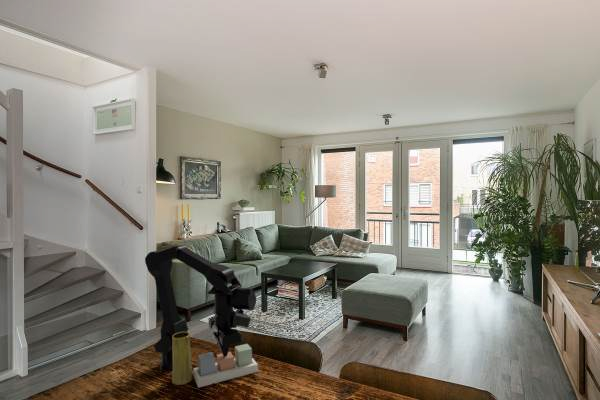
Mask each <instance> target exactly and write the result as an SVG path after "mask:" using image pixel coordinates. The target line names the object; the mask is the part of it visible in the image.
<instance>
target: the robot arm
mask: <svg viewBox="0 0 600 400" xmlns="http://www.w3.org/2000/svg"><path fill="white" fill-rule="evenodd" d="M173 260H178V261H180V262H181V263H183V264H185V265H186V266H188V267H190V268H191V269H193V270H194V271H196V272H197V273H200V274H201V275H202V276H204V278H205V280H206V281H207V282H208V284H210V285H211V286H212V288H211V289H210V290H209V291H208V292H207V294H208V295H214V297H213V298H214V309H213V312H212V313H213V315H214V316H213V317H210V319H209V320H208V327H209V329H210V330H211V329H213V327H214V330H215V331H214V332H213V333H212V334H213V336H214V338H215V341H216V343H217V344H218V347H219V349H220V352H221V354H223V356H224V357H225V356H227V354H228V352H230V351H229V350H230V347H231V345H234V344H239V343H242V342H243V334H242V333H241V331H240V330H238V329H237V327H244V328H245V329H246V328H248V329H249V326H250V324H251V320H252V317H251V316H250V315H248V314H246V313H245V312H244V310H245V311H253V310H254V309H255V308H256V305H257V296H256V293H255V291H254V287H250V286H249V287H243V285H242V284H241V282H240V281H239V279H238V278H237V276H236V275H235V270H234V269H233V268H232V267H229V266H226V265H224V264H219V263H214V262H212V261H210V260H209V259H207V258H205V257H203V256H202V255H200V254H198V253H197V252H195V251H193V250H191V249H190V248H188V247H187V246H186V245H184V244H177V245H174V246H171V247H170V248H166V249H165V248H163V249H158V250H154V251H150V252H148V253H147V255H146V256H145V258H144V262H145V265H146V268H147V271H148V273H149V274H150V275H151V276H152V277H153V278H154V281H155V287H156V290H157V296H158V300H159V305H160V313H161V315H162V324H161V326H160V327H161V328H160V339H158V341H157V342H156V343H155V345H154V346H153V347H154V350H155V352H156V353H160V360H161V361H159V367H160V371H161V372H165V371H170V370H173V353H172V336H173V335H174V334H176V333H179V332H188V331H189V327H188V325H187V324H188V323H187V322H188V321H187V319H186V318H183V319H182V318H181V316H180V315H179V312H178V307H177V303H176V298H175V293H174V289H173V283H172V278H171V272H172V267H173ZM234 309H235V310H234Z"/></svg>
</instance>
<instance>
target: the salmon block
mask: <svg viewBox="0 0 600 400" xmlns="http://www.w3.org/2000/svg"><path fill="white" fill-rule="evenodd" d="M234 358H235V355H233V354H232V352H231V351H228V354H227V356H225V357H224V356H223V354H222V353H219V354H216V363H217V368H218V370H219V371H220V372H221V371H225V370H229V369H233V368H234Z"/></svg>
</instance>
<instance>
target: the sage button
mask: <svg viewBox="0 0 600 400" xmlns="http://www.w3.org/2000/svg"><path fill="white" fill-rule="evenodd" d="M234 358H235V362H236V363H237V365H238V367H241V366H244V365H248V364H252V358H253V349H252V347H251V346H250V344H248V343H244V344H240V345H236V346H234Z"/></svg>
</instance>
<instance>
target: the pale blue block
mask: <svg viewBox="0 0 600 400" xmlns="http://www.w3.org/2000/svg"><path fill="white" fill-rule="evenodd" d="M215 363H216V356H215V355H214V353H213V352H212V351H209V352H205V353H202V354H201V353H200V354H198V355H197V367H198V371H199V373H200V375H201V376H200V377H202V376H206V375H210V374H213V373H216V368H215Z"/></svg>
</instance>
